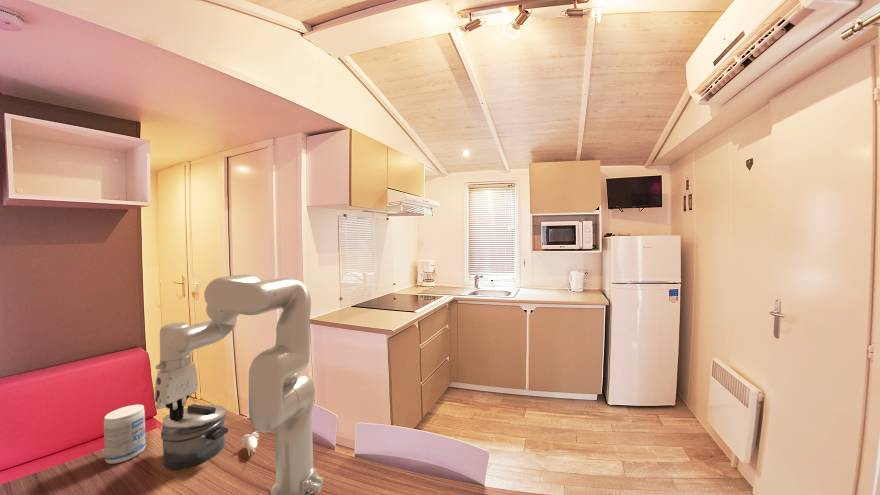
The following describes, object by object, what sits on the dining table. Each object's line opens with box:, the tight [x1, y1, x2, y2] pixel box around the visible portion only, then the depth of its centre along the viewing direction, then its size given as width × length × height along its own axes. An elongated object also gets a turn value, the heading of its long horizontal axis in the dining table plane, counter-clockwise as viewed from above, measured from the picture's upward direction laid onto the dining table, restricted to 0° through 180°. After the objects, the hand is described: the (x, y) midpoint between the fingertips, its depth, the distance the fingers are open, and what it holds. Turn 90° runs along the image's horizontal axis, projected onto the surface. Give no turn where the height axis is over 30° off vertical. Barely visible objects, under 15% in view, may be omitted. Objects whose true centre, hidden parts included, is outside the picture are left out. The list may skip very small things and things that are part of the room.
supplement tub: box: [103, 404, 147, 465], centre depth 101 cm, size 10×10×15 cm
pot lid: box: [161, 403, 227, 429], centre depth 102 cm, size 17×17×3 cm
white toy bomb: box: [241, 430, 260, 456], centre depth 101 cm, size 12×5×5 cm, turn 37°
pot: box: [160, 409, 229, 471], centre depth 102 cm, size 23×18×10 cm
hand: (176, 419), depth 97 cm, fingers closed
